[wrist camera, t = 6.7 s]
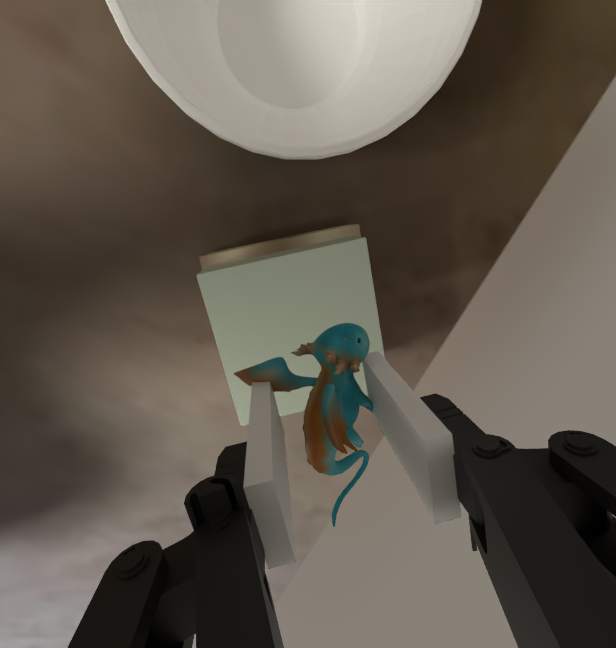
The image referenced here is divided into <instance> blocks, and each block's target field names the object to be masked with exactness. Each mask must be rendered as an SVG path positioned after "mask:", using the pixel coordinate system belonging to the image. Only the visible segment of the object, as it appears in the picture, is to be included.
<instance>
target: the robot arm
mask: <svg viewBox="0 0 616 648" xmlns="http://www.w3.org/2000/svg"><path fill="white" fill-rule="evenodd" d="M362 364H363V370H364V375H365V381H366V386H367V392H368V398H369V399H370V400H371V401H372V404H373V411H372V413H373V415H374V417H375V419H376V420H377V422H378V424H379V426H380V427H381V429H382V431H383V433H384V434H385V436H386V438H387V440H388V441H389V443H390V445H391V447H392V448H393V450H394V452H395V454H396V455H397V457H398V459H399V460H400V462H401V464H402V466H403V468H404V469H405V471H406V473H407V475H408V476H409V478H410V480H411V482H412V483H413V485H414V487H415V489H416V490H417V492H418V494H419V496H420V497H421V499H422V501H423V503H424V504H425V506H426V508H427V510H428V511H429V513H430V515H431V517H432V518H433V520H434V522H435V524H438V523H441V522H445V521H449V520H453V519H456V518H460V517H461V510H460V502H461V503H462V505H463V506H464V508H465V509H466V510H467V512H468V513H469V523H470V533H471V542H472V549H473V551H477V546H478V549H479V551H480V554H481V556H482V559H483V561H484V564H485V566H486V569H487V571H488V574H489V576H490V578H491V581H492V583H493V586H494V588H495V591H496V593H497V596H498V598H499V601H500V603H501V606H502V608H503V611H504V613H505V616H506V618H507V620H508V623H509V625H510V628H511V631H512V633H513V635H514V638H515V640H516V643H517V645H518V648H616V518H615V517H614V516H616V446H614V445H613V444H611V443H609V442H608V441H606V440H604V439H602V438H600V437H598V436H596V435H593V434H590V433H586V432H582V431H569V430H568V431H561V432H557V433H555V434H553V435H551V437H550V438H549V440H548V448H546V449H545V448H544V449H517V448H515V446H514V445H513V444H512V443H510V442H509V441H508V440H506V439H504V438H502V437H499V436H494V435H489V434H485V433H484V432H483V431H482V430H481V429H480V428H479V427H478V426H477V425H476V424H475V423H473V422H472V421H471V420H470V419H469V418H468V417H467V416H466V415H465V414H463V412H462V411H461V410H460V409H459V408H457V407H456V406H455V405H454V404H453V403H452V402H451V401H450V400H449V399H448V398H445V397H443V396H440V395H438V394H432V395H428V396H424V397H420V398H419V397H418V395H417V394H416V393H415V392H414V391H413V390H412V389H411V388H410V387H409V385H408V384H407V383H406V382H405V381H404V380H403V379H402V378H401V376H400V375H399V374H398V373H397V372H396V371H395V370H394V369H393V368H392V366H391V365H390V364H389V363H388V362H387V361H386V360H385V359H384V358H383V356H382V355H381V354H380V353H379V352H378V351H376V352H372V353H368V354H367V356H366V358H365V359H364V360H363V361H362ZM184 505H185V507H186V510H187V513H188V515H189V518H190V521H191V524H192V526H193V529H194V532H192V533H191V534H190V535H189V536H187V537H186V538H184V539H182V540H181V541H179V542H177V543H175V544H173V545H171V546H169V547H167V548H165V549H164V550H162V548H161V546H160V544H159V543H157V542H155V541H153V540H152V541H142V542H140V543H137V544H134V545H132V546H131V547H129V548H127V549H126V550H124V551H123V552H121V553H120V554H119V555H118V556H117V557H116V558H115V559H114V560H113V561H112V562H111V564H110V565H109V567H108V568H107V570H106V571H105V573H104V575H103V577H102V579H101V581H100V583H99V585H98V587H97V589H96V592H95V594H94V596H93V598H92V600H91V602H90V604H89V606H88V608H87V610H86V612H85V614H84V616H83V618H82V620H81V622H80V624H79V626H78V628H77V630H76V632H75V634H74V636H73V638H72V640H71V642H70V644H69V646H68V648H192V644H193V639H194V634H196V648H284V646H283V642H282V638H281V634H280V630H279V625H278V621H277V617H276V613H275V609H274V604H273V600H272V596H271V592H270V588H269V583H268V580H267V577H266V574H265V559H266V562H267V565H268V569H270V568H274V567H278V566H282V565H285V564H289V563H293V562H296V560H295V549H294V538H293V527H292V516H291V505H290V494H289V483H288V472H287V461H286V450H285V439H284V430H283V427H282V423H281V419H280V415H279V411H278V407H277V404H276V400H275V396H274V392H273V389H272V386H271V384H270V381H269V382H252V390H251V402H250V414H249V425H248V437H247V442H243V443H239V444H235V445H231V446H227V447H225V449H224V450H223V451H222V453H221V454H220V455H219V457H218V460H217V465H216V470H215V475H214V476H211V477H208V478H206V479H204V480H202V481H201V482H199V483H198V484H197V485H195V486H194V487H193V488H192V489H191V490H190V491H189V493H188V494H187V495H186V498H185V502H184ZM612 514H613V515H614V516H612ZM476 544H477V546H476Z"/></svg>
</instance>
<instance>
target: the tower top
mask: <svg viewBox="0 0 616 648" xmlns="http://www.w3.org/2000/svg"><path fill="white" fill-rule="evenodd" d="M196 276H197V279H198V283H199V286H200V289H201V293H202V296H203V300H204V303H205V306H206V310H207V313H208V317H209V320H210V323H211V327H212V330H213V333H214V337H215V340H216V344H217V347H218V350H219V354H220V357H221V361H222V364H223V367H224V371H225V374H226V377H227V381H228V384H229V388H230V391H231V394H232V398H233V401H234V405H235V408H236V411H237V415H238V418H239V421H240V425H241V426H244V425H248V424H249V414H250V402H251V390H252V386H248V385H247V384H246V383H244V382H243V381H242V380H241V379H240V378H238V377H237V376H235V375H234V373H235V372H237V371H240V370H243V369H246V368H249V367H252V366H255V365H257V364H260V363H263V362H265V361H267V360H270V359H273V358H276V357H283V358H284V359H285V361H286V364H287V366H288V368H289V370H290V371H291V372H292V373H293V374H295V375H298V376H304V377H313V378H318V376H319V373H320V371H321V366H320V364H319V362H318V361H317V359H316V358H315V357H314V356H313V355H311V354H306V355H302V356H296V355H294V354H292V353H291V352H294V351H298V350H296V349H299V348H300V347H301V344H305V345H307V343H313V342H314V341H315V340H316V338H317V337H318V336H319V335H320V334H321V333H323V332H324V331H325V330H327V329H328V328H330V327H333V326H335V325H338V324H342V323H353V324H356V325H359V326H361V327H362V328H363V329H365V331H366V332H367V334H368V337H369V342H370V346H369V351H368V353H372V352H376V351H378V352H379V353H380V354H381V355H382V356H383V358H384V359H385V356H384V349H383V343H382V337H381V330H380V324H379V317H378V311H377V305H376V298H375V292H374V286H373V279H372V273H371V266H370V260H369V254H368V247H367V241H366V237H359V236H348V237H343V238H339V239H334V240H330V241H325V242H321V243H316V244H312V245H307V246H302V247H298V248H293V249H289V250H284V251H280V252H275V253H271V254H266V255H261V256H257V257H252V258H248V259H243V260H239V261H234V262H230V263H225V264H221V265H216V266H211V267H207V268H205V269H204V270H202V271H201V272H200V273H198V274H197V275H196ZM359 369H360V371H359V372H356V373H353V374H354V378H355V380H356V381H357V383H358V385H359V386H360V388H361V390H362V392H363V393H364V394H365V395H366V396H367V395H368V392H367V386H366V381H365V375H364V370H363V364H362V362H361V363H360V367H359ZM312 388H313V387H312V386H307V387H302V388H300V389H296V390H291V391H290V392H274V396H275V400H276V404H277V407H278V411H279V415H280V417H281V416H285V415H289V414H293V413H297V412H301V411H305V408H306V405H307V400H308V398H309V393H310V391H311V390H312Z"/></svg>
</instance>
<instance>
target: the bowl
mask: <svg viewBox="0 0 616 648" xmlns="http://www.w3.org/2000/svg"><path fill="white" fill-rule="evenodd" d="M105 1H106V3H107V5H108V7H109V9H110V11H111V13H112V15H113V17H114V19H115V21H116V23H117V25H118V27H119V29H120V31H121V33H122V35H123V37H124V40H125V42H126V43H127V45H128V46H129V47H130V49H131V50H132V52H133V53H134V55H135V56H136V57H137V59H138V60H139V62H140V63H141V64H142V66H143V67H144V69H145V70H146V72H147V73H148V74H149V76H150V77H151V79H152V80H153V81H154V82H155V83H156V84H157V85H158V86H159V87H160V88H161V89H162V90H163V91H164V92H165V93H166V94H167V95H168V96H169V97H170V98H171V99H172V100H173V101H174V102H175V103H176V104H177V105H178V106H179V107H180V108H181V109H182V110H183V111H184V112H185V113H186V114H187V115H188V116H189V117H191V118H192V119H193V120H195V121H196V122H198V123H199V124H201V125H202V126H204V127H205V128H206V129H208V130H209V131H211V132H212V133H214V134H215V135H216V136H218V137H219V138H221V139H224V140H226V141H228V142H230V143H233V144H235V145H237V146H239V147H242V148H244V149H246V150H248V151H251V152H254V153H258V154H263V155H267V156H272V157H277V158H281V159H312V160H318V159H323V158H327V157H332V156H337V155H341V154H346V153H350V152H352V151H355V150H357V149H359V148H361V147H363V146H366V145H368V144H370V143H372V142H375V141H377V140H379V139H381V138H383V137H385V136H387V135H388V134H390V133H391V132H392V131H394V130H395V129H397V128H398V127H399V126H401V125H402V124H403V123H405V122H406V121H408V120H409V119H410V118H412V117H413V116H414V115H416V114H417V112H418V111H419V110H420V109H421V108H422V107H423V106H424V105H425V104H426V103H427V102H428V101H429V100H430V99H431V97H432V96H433V95H434V94H435V93H436V92H437V91H438V90H439V89H440V88H441V86H442V85H443V83H444V82H445V80H446V79H447V77H448V75H449V74H450V72H451V71H452V69H453V68H454V66H455V65H456V63H457V61H458V60H459V58H460V57H461V55H462V53H463V51H464V49H465V46H466V44H467V42H468V39H469V37H470V34H471V32H472V30H473V27H474V25H475V23H476V20H477V18H478V16H479V12H480V8H481V4H482V0H105Z"/></svg>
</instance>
